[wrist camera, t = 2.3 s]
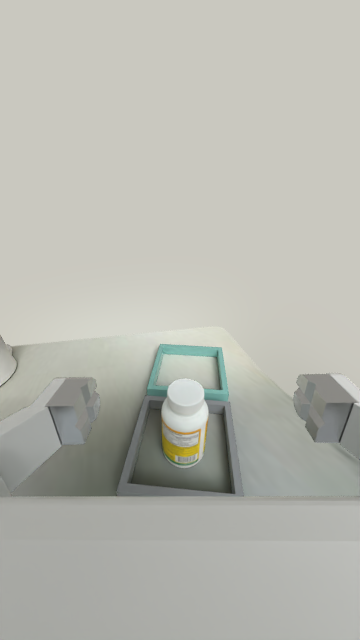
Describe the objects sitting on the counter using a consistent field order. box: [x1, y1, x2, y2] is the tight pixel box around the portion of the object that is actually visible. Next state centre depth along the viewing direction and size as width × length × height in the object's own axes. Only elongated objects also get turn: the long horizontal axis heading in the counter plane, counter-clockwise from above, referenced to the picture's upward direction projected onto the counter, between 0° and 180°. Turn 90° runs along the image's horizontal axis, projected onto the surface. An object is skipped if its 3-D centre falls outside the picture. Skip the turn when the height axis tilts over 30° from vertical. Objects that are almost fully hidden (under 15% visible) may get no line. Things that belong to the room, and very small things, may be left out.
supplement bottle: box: [161, 378, 209, 468], centre depth 26 cm, size 5×5×10 cm
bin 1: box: [147, 344, 229, 401], centre depth 40 cm, size 13×13×2 cm
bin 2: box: [117, 395, 244, 497], centre depth 27 cm, size 13×13×2 cm
